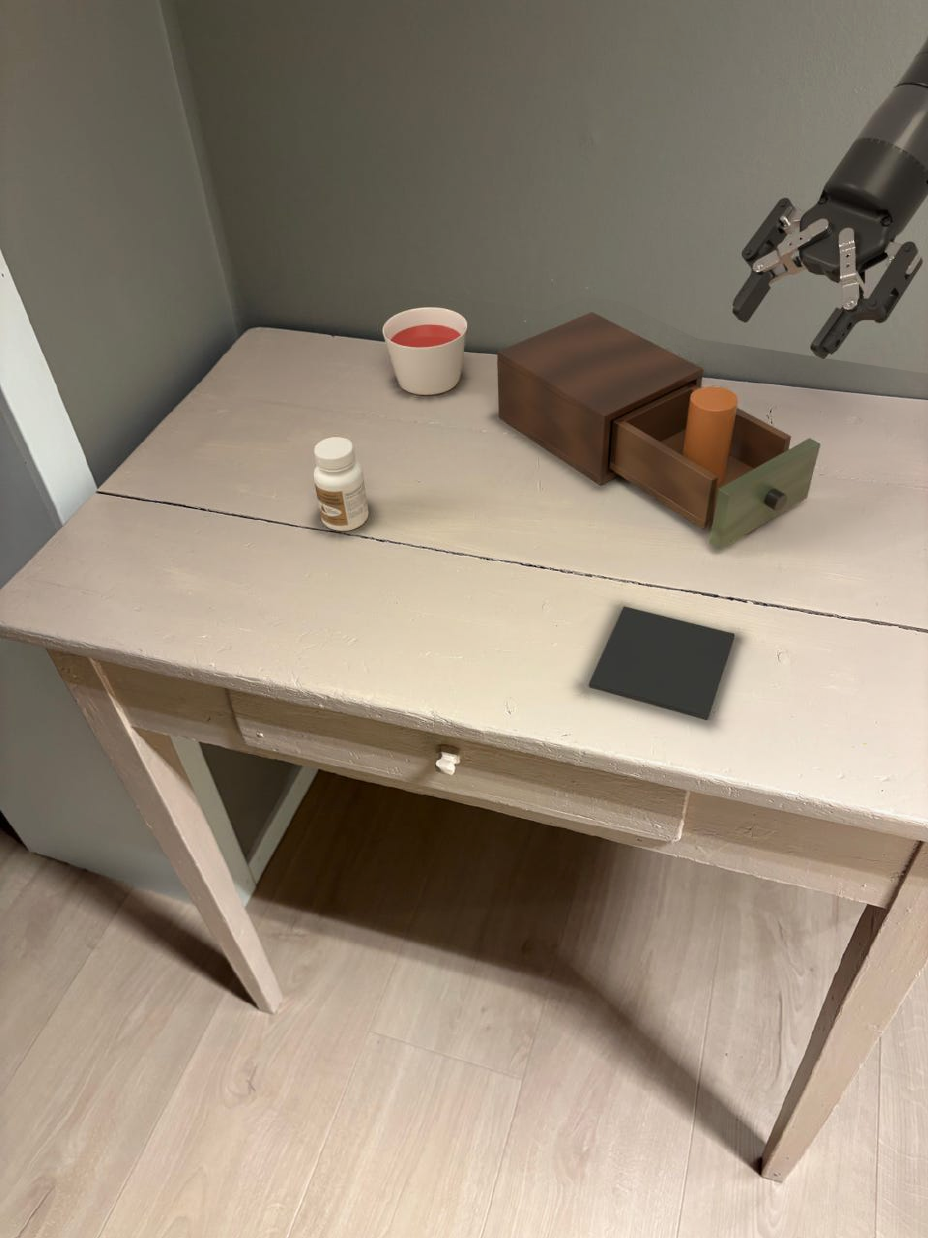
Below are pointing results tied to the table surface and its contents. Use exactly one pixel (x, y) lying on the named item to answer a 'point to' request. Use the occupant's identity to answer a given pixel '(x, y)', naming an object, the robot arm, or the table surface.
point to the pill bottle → (339, 485)
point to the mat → (663, 662)
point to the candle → (426, 349)
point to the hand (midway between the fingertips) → (776, 335)
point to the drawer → (741, 502)
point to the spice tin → (710, 428)
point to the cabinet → (584, 387)
